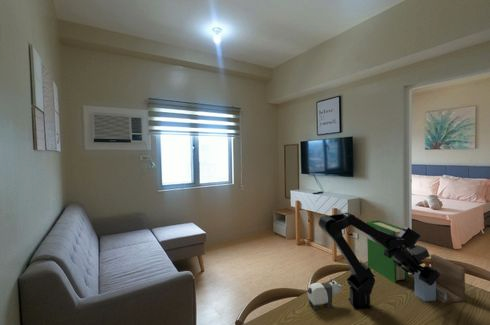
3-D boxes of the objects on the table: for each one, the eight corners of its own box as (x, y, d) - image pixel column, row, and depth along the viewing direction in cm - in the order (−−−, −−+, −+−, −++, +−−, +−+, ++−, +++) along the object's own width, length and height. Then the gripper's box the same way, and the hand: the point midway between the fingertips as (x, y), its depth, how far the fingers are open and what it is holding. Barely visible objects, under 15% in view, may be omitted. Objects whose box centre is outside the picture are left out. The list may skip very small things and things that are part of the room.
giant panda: (312, 311, 94) (311, 287, 94) (305, 303, 100) (304, 280, 99) (346, 305, 97) (345, 282, 97) (338, 298, 103) (337, 275, 102)
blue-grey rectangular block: (424, 301, 98) (424, 275, 98) (414, 294, 103) (414, 269, 103) (435, 300, 98) (435, 274, 98) (425, 293, 103) (425, 268, 103)
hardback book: (408, 280, 114) (407, 229, 113) (394, 283, 112) (393, 231, 112) (380, 264, 131) (379, 220, 130) (368, 266, 130) (366, 221, 129)
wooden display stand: (442, 302, 97) (442, 270, 96) (414, 284, 110) (414, 256, 110) (465, 300, 97) (464, 268, 97) (434, 282, 111) (434, 254, 111)
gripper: (435, 249, 90) (462, 276, 92) (398, 233, 109) (421, 256, 110) (415, 272, 90) (443, 298, 91) (382, 252, 108) (406, 274, 110)
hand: (427, 280), depth 101 cm, fingers closed on blue-grey rectangular block, 5 cm apart
